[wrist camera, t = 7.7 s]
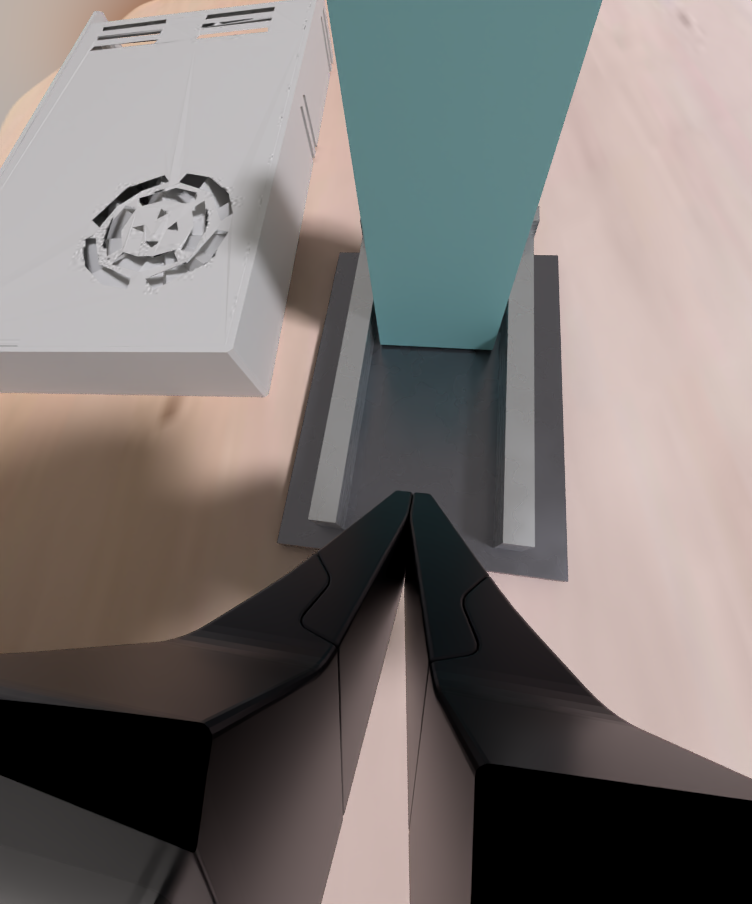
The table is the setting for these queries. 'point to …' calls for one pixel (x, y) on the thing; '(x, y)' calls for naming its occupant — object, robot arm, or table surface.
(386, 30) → the block
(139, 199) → the power supply unit
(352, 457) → the chute
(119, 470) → the table surface
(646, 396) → the table surface
